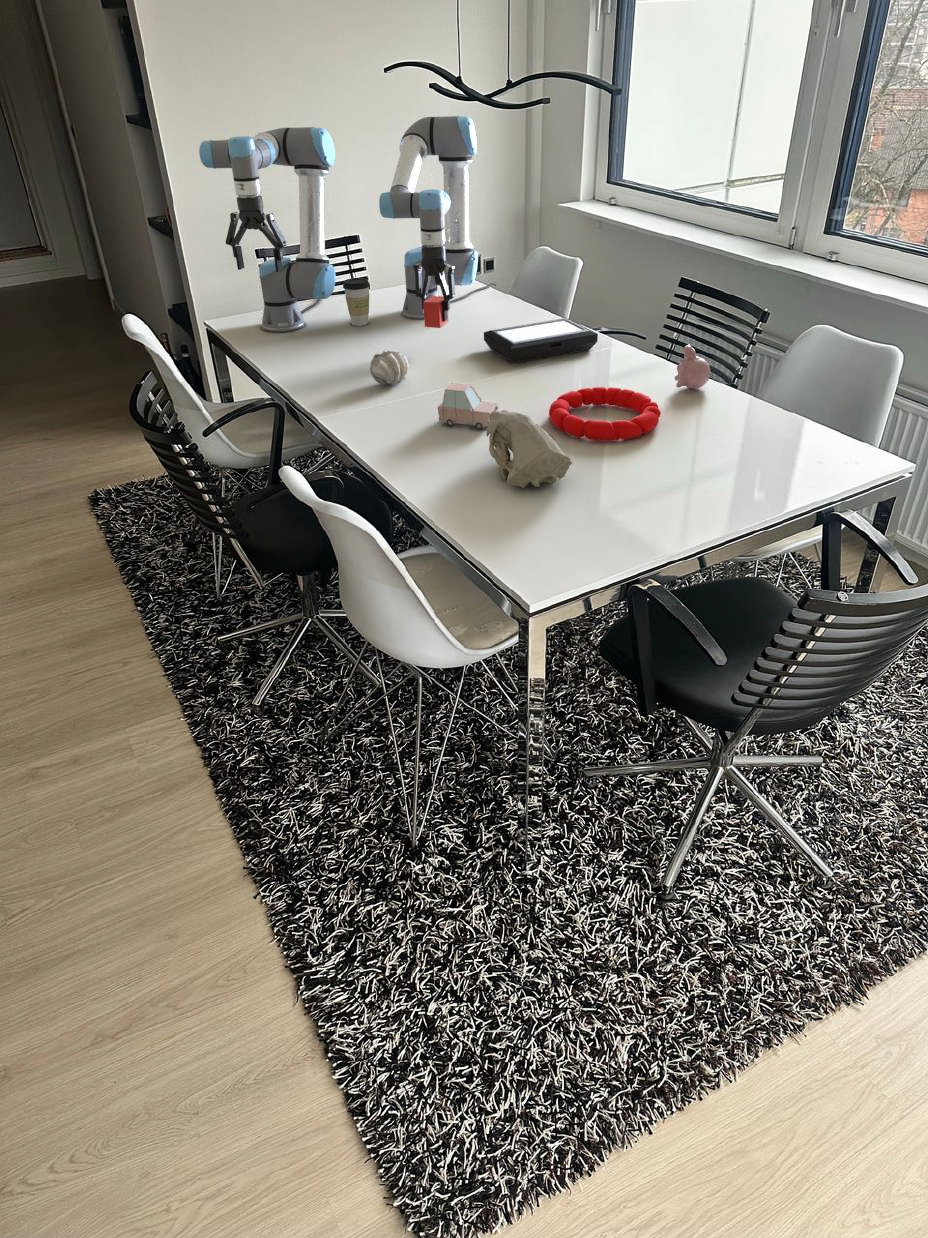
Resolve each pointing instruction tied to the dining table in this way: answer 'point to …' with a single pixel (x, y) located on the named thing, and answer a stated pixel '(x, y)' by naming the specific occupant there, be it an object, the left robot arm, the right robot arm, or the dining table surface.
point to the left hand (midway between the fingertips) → (260, 269)
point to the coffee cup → (357, 300)
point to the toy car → (465, 406)
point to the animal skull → (525, 450)
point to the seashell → (389, 367)
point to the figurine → (692, 370)
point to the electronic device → (540, 340)
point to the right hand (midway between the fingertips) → (436, 319)
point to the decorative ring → (604, 428)
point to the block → (433, 312)
